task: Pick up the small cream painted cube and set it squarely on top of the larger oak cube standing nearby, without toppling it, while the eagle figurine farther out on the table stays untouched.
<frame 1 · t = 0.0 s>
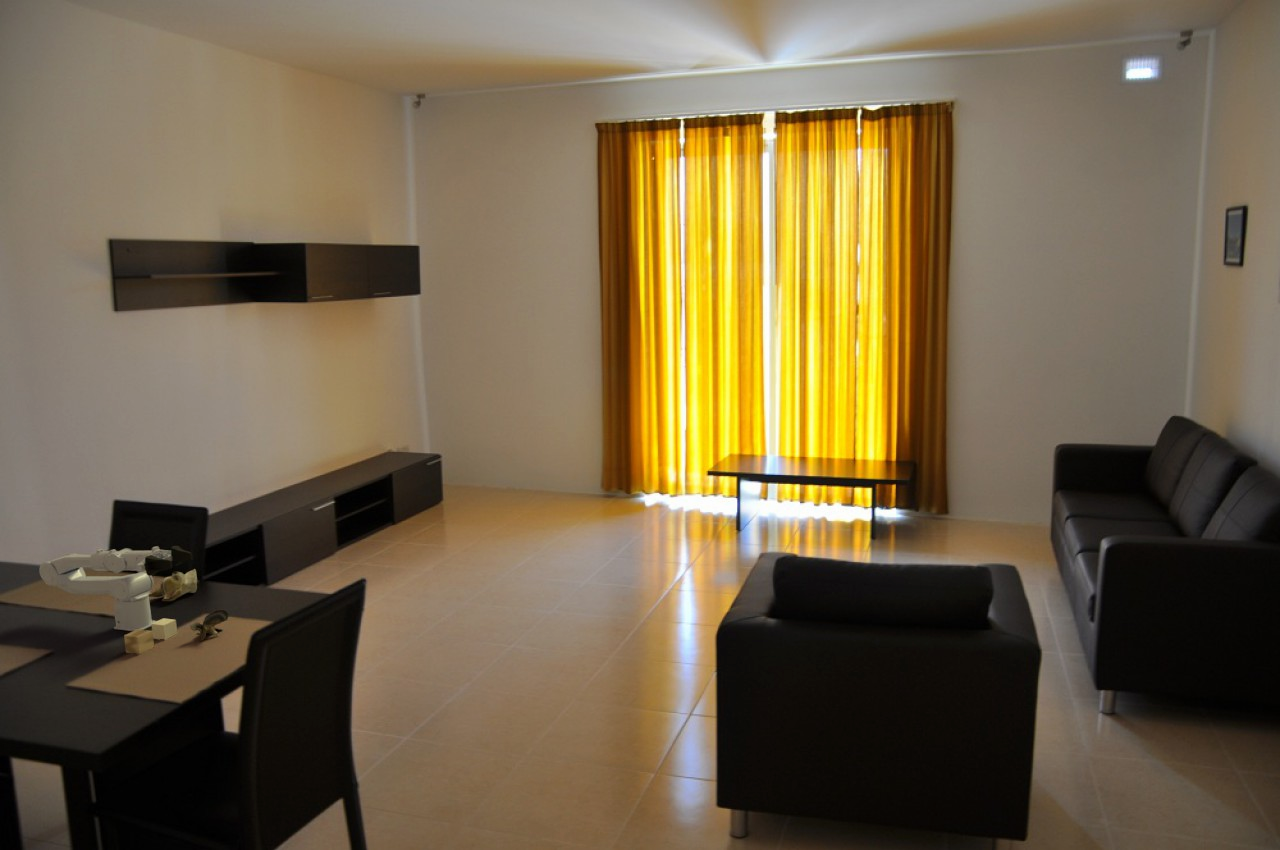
hand: (181, 560, 295), 22 cm above the table, fingers open, 7 cm apart
eagle figurine: (211, 636, 297), on the table
cream block: (165, 636, 297), on the table
oak base block: (140, 650, 288), on the table
ceramic sculpture: (176, 597, 331), on the table
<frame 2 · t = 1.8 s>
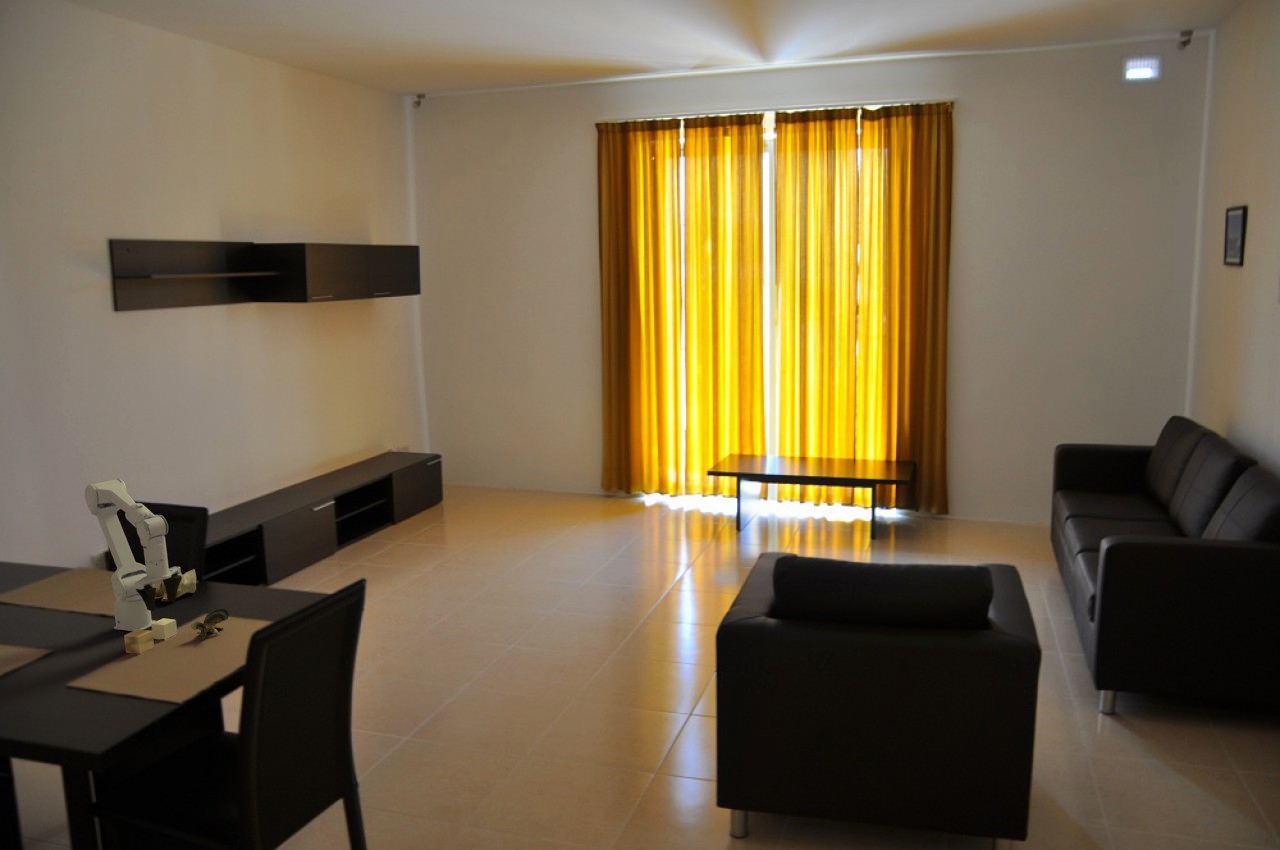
hand: (161, 605, 296), 9 cm above the table, fingers open, 7 cm apart
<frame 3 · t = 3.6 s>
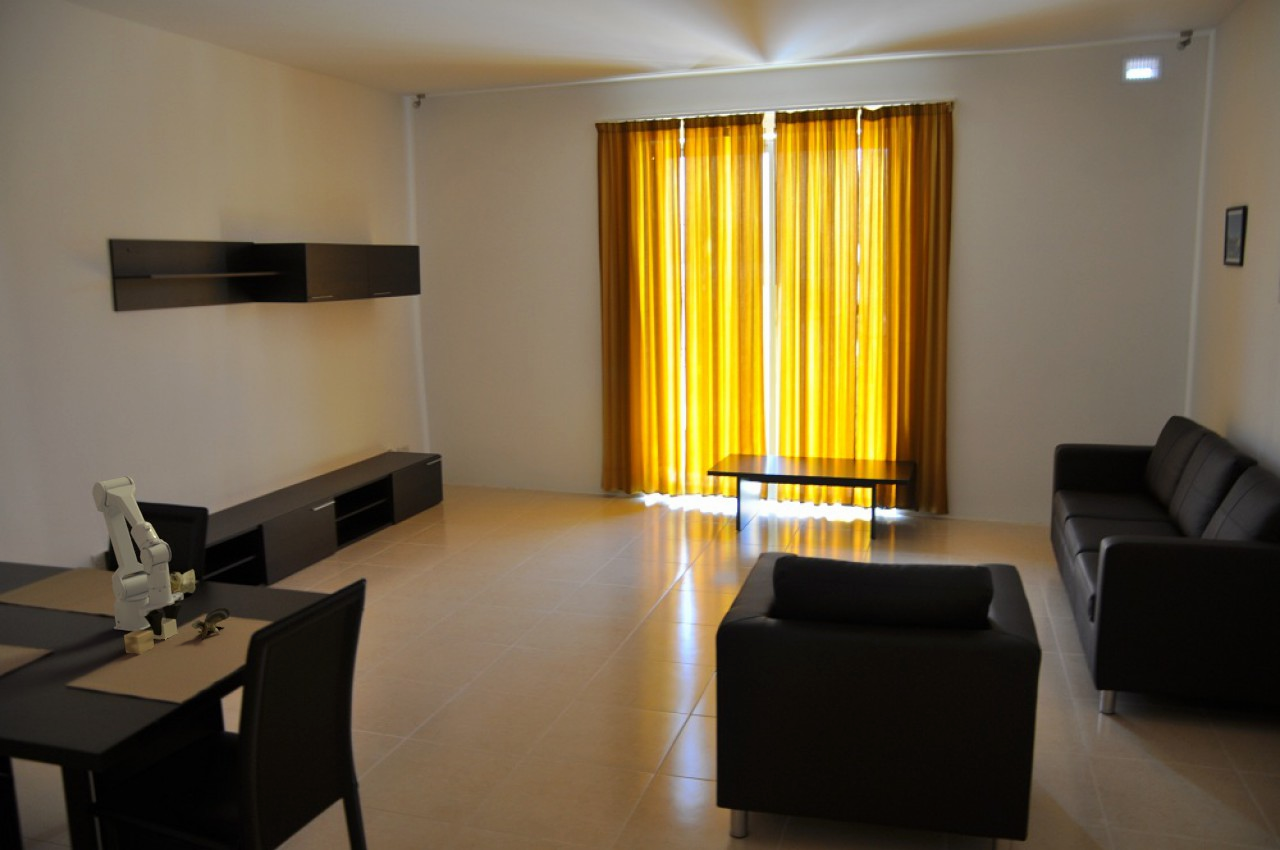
hand: (164, 631, 297), 1 cm above the table, fingers closed on cream block, 4 cm apart
cream block: (165, 636, 297), on the table, touching gripper
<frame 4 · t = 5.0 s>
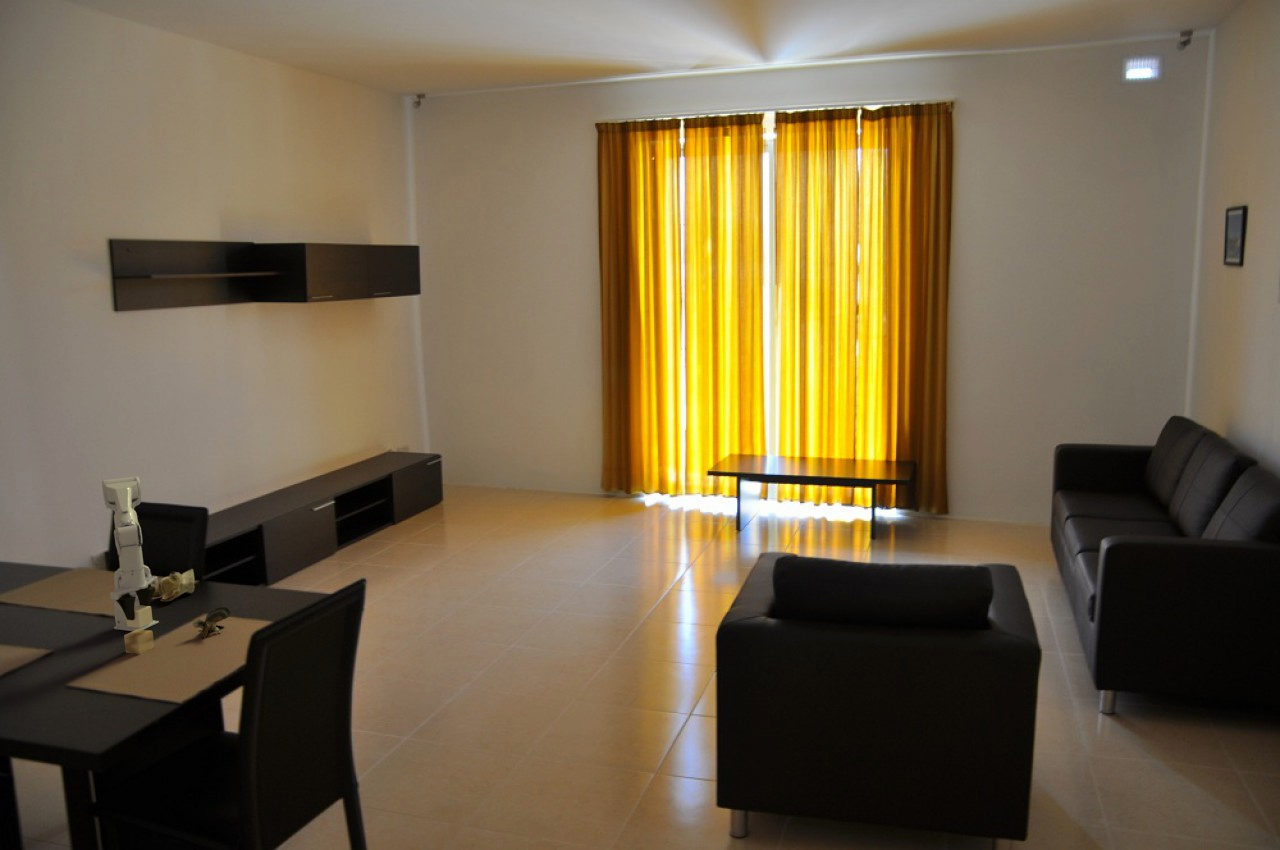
hand: (138, 616, 287), 9 cm above the table, fingers closed on cream block, 4 cm apart
cream block: (140, 624, 287), point 7 cm above the table, touching gripper
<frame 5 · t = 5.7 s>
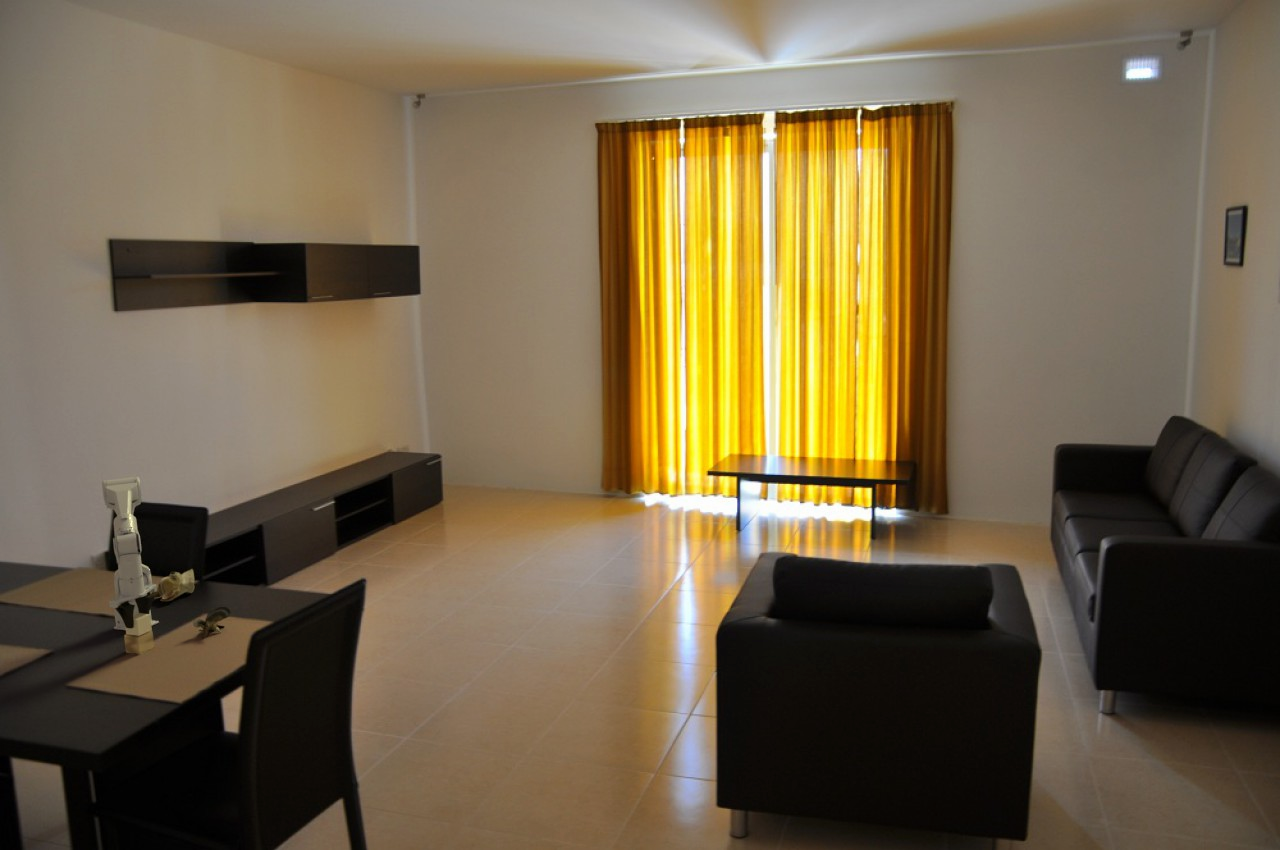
hand: (137, 624, 286), 7 cm above the table, fingers closed on cream block, 4 cm apart
cream block: (139, 631, 287), point 5 cm above the table, touching gripper
when the fingers open (7 cm above the table, at t = 6.4 s): cream block stays where it is, resting on oak base block.
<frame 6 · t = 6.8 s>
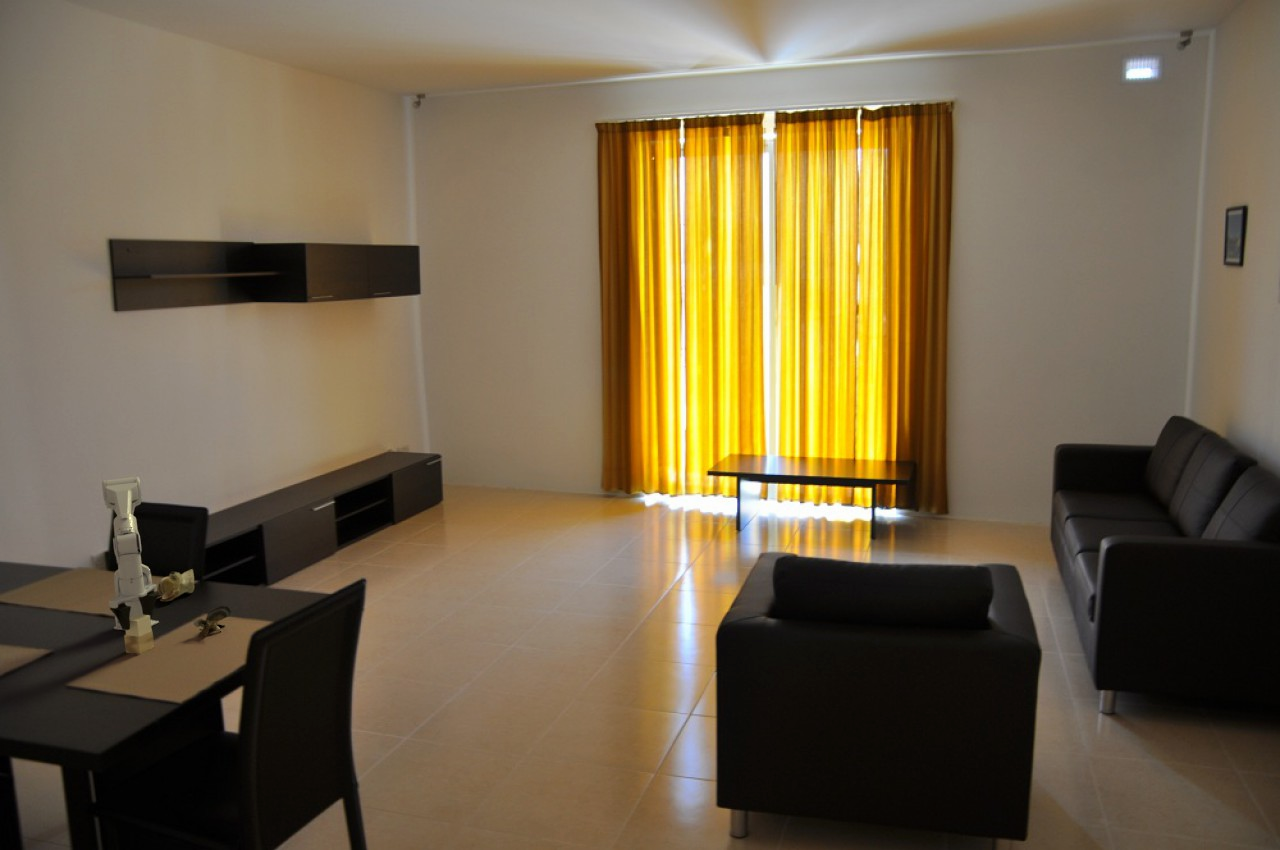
hand: (137, 624, 286), 7 cm above the table, fingers open, 7 cm apart
cream block: (139, 633, 287), point 5 cm above the table, touching oak base block
oak base block: (140, 650, 288), on the table, touching cream block
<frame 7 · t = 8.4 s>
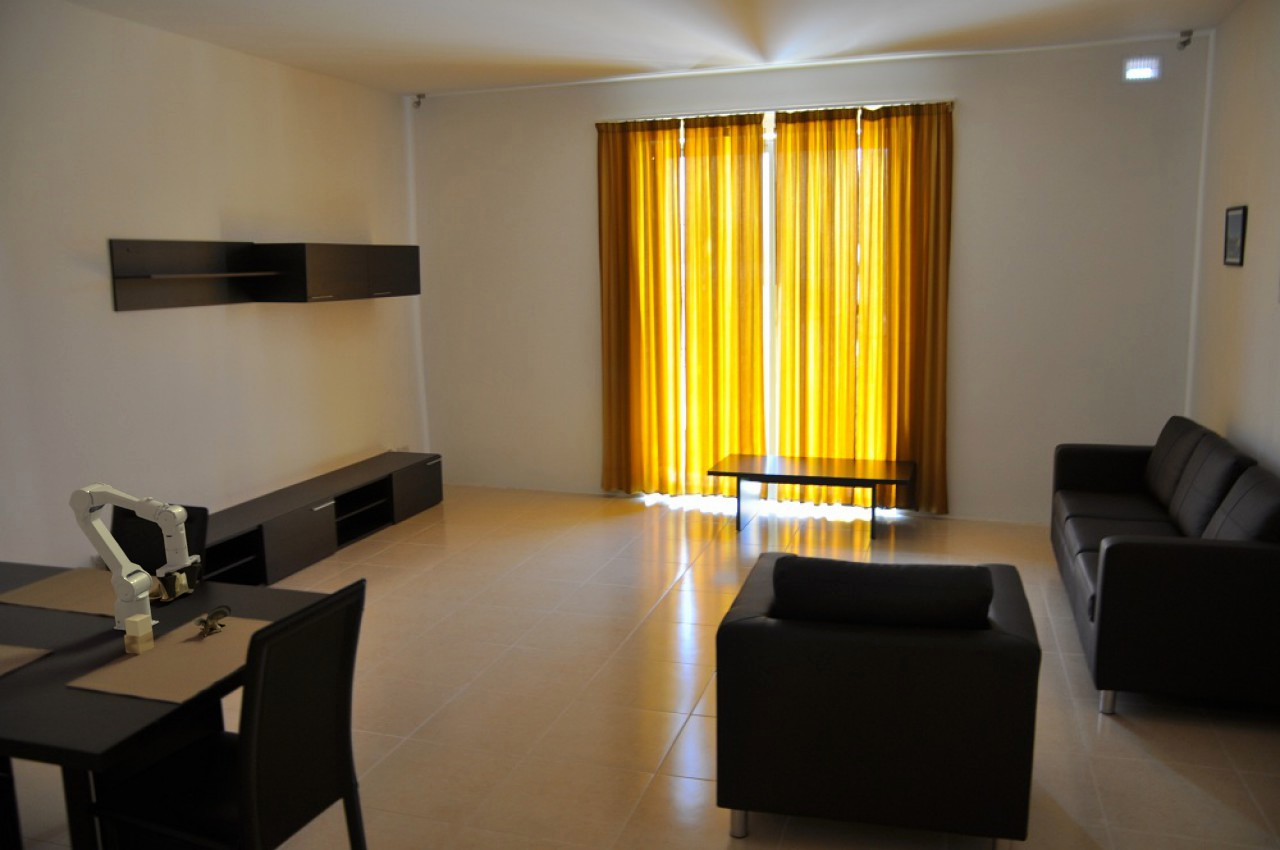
hand: (182, 593, 302), 10 cm above the table, fingers open, 7 cm apart
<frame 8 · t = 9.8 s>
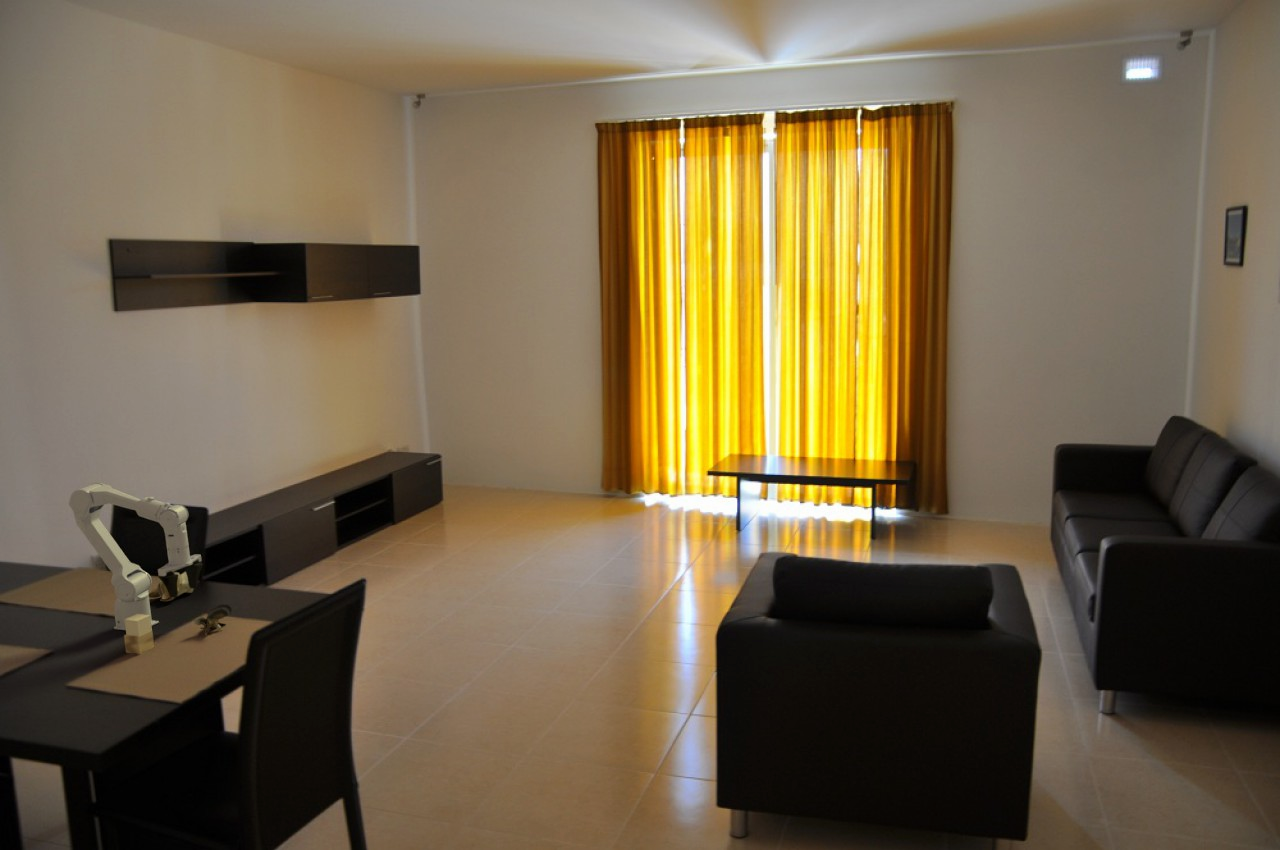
hand: (183, 592, 303), 10 cm above the table, fingers open, 7 cm apart
at the end: cream block 0.4 cm off-centre on the oak base block, point 5.0 cm above the oak base block's base; oak base block tilted 0°; cream block tilted 0° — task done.
